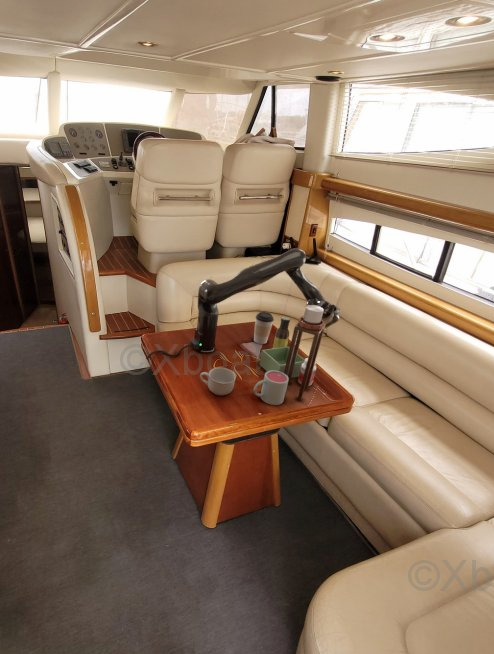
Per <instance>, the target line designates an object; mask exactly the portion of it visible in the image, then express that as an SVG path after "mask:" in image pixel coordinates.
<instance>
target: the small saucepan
mask: <svg viewBox="0 0 494 654" xmlns="http://www.w3.org/2000/svg"><path fill="white" fill-rule="evenodd" d="M324 304H325V302H324V301H320V302H319V303H318V304H317V306H315V305H307V306H306V305H305V308H304V313H303V316H304V317H303V322H304V323H306V324H310V325H320V322H321V319H322V315H323V311H324V309H323V308H322V307H323V305H324Z"/></svg>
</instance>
